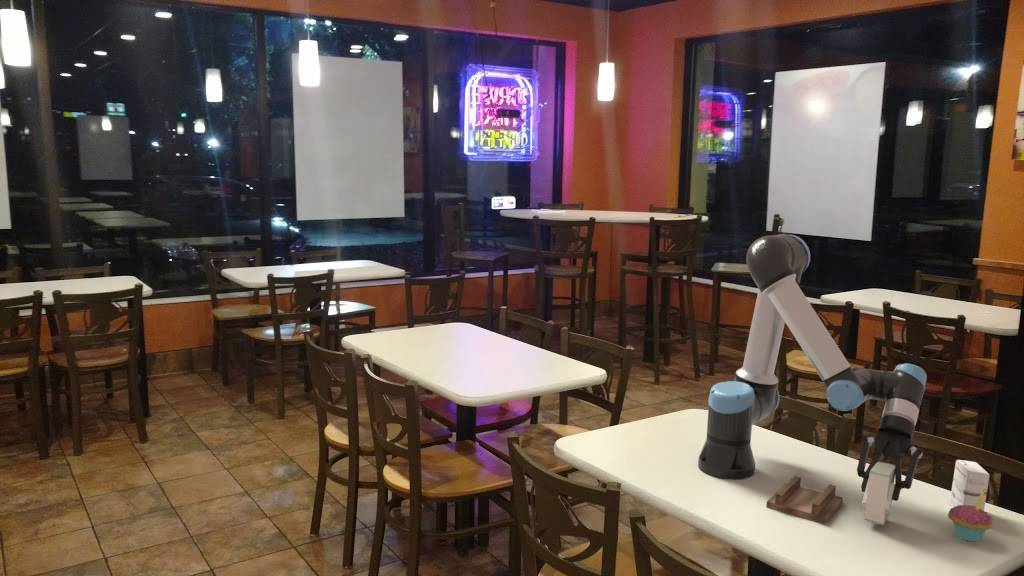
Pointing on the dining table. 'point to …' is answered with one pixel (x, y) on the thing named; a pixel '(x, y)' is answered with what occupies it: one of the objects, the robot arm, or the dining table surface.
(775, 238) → the robot arm
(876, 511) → the sage box
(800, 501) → the walnut rack
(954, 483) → the white rectangular block
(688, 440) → the dining table surface
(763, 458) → the dining table surface
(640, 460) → the dining table surface
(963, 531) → the cupcake
